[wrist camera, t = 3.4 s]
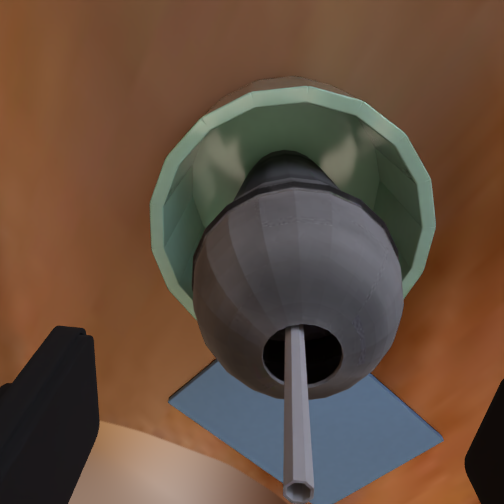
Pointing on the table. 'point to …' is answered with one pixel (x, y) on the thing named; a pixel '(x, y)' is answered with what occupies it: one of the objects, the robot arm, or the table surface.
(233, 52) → the table surface
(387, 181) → the bucket
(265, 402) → the desk mat
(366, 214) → the beverage cup
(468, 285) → the table surface
